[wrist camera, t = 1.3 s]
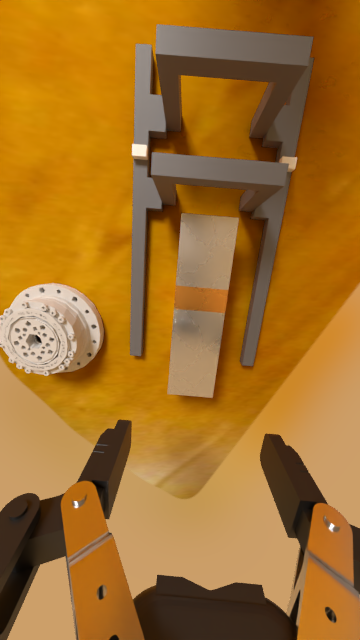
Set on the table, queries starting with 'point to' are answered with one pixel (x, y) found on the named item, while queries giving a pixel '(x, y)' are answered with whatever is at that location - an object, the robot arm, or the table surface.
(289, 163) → the collar frame
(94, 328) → the mechanical component
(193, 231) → the bar
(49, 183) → the table surface
